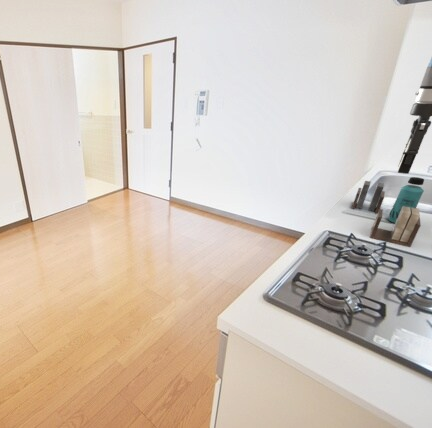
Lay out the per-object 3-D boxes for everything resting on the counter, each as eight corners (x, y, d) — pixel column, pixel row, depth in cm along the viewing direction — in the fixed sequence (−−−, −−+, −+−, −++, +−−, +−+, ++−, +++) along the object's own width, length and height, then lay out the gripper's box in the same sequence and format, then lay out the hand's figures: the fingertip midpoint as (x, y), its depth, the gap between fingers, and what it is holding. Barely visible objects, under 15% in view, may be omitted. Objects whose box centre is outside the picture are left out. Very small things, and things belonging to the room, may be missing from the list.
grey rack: (377, 209, 128) (388, 182, 123) (376, 216, 122) (387, 188, 117) (352, 205, 134) (361, 179, 128) (350, 211, 128) (359, 184, 122)
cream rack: (409, 237, 106) (422, 208, 101) (410, 247, 100) (424, 217, 95) (371, 229, 113) (382, 201, 108) (370, 237, 107) (381, 209, 102)
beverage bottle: (383, 219, 119) (402, 174, 111) (404, 222, 116) (424, 176, 108) (389, 226, 114) (409, 179, 106) (411, 229, 111) (433, 181, 103)
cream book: (405, 168, 103) (418, 138, 98) (405, 173, 98) (419, 142, 93) (398, 167, 104) (410, 137, 100) (397, 172, 99) (410, 141, 94)
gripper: (413, 100, 100) (389, 162, 110) (414, 105, 87) (387, 175, 96) (444, 100, 96) (416, 165, 105) (450, 105, 82) (418, 179, 92)
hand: (403, 169), depth 101 cm, fingers closed on cream book, 8 cm apart
